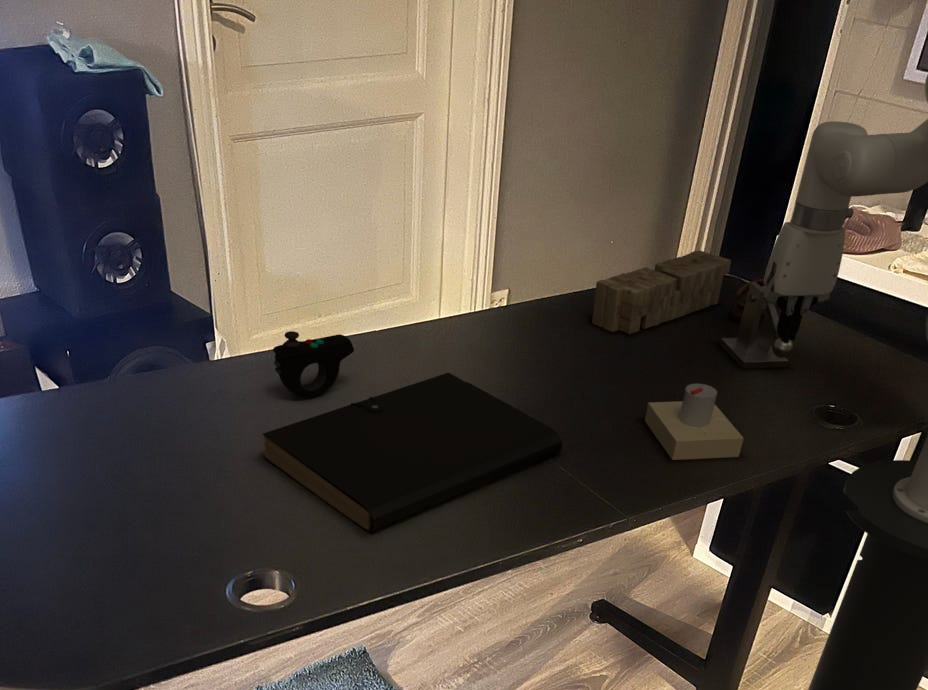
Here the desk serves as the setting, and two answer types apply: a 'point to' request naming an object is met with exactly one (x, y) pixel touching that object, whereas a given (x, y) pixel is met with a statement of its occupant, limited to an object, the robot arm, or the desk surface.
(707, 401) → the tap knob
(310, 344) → the controller
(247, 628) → the desk surface
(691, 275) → the block tower
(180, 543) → the desk surface
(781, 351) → the tap lever
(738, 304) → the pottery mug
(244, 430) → the desk surface
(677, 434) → the beige rectangular block
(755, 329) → the bracket
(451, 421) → the black hardcover book
